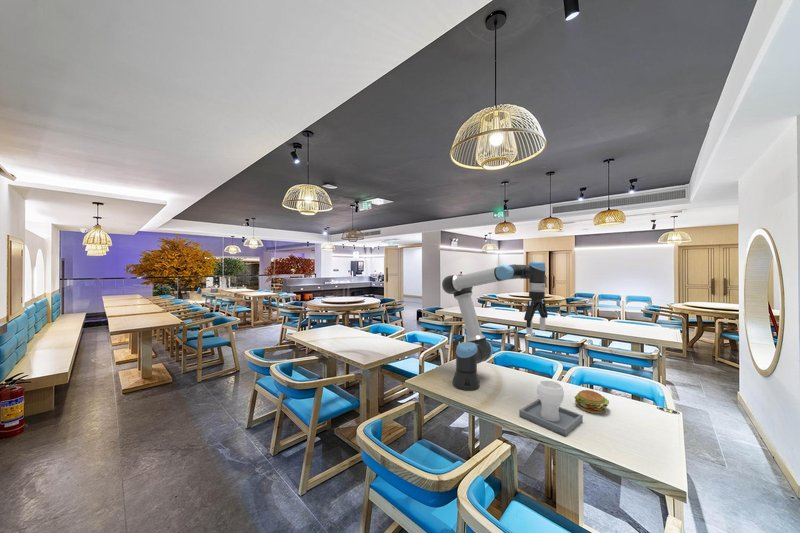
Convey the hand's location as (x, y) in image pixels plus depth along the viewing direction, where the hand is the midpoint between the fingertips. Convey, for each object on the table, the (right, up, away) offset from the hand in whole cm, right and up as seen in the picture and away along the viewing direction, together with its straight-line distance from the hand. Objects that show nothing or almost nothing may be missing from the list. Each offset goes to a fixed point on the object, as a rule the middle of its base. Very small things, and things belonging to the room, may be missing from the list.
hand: (535, 331), depth 156 cm
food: (+23, -36, -10) cm, 43 cm away
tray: (-2, -35, -20) cm, 41 cm away
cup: (-3, -35, -20) cm, 40 cm away
